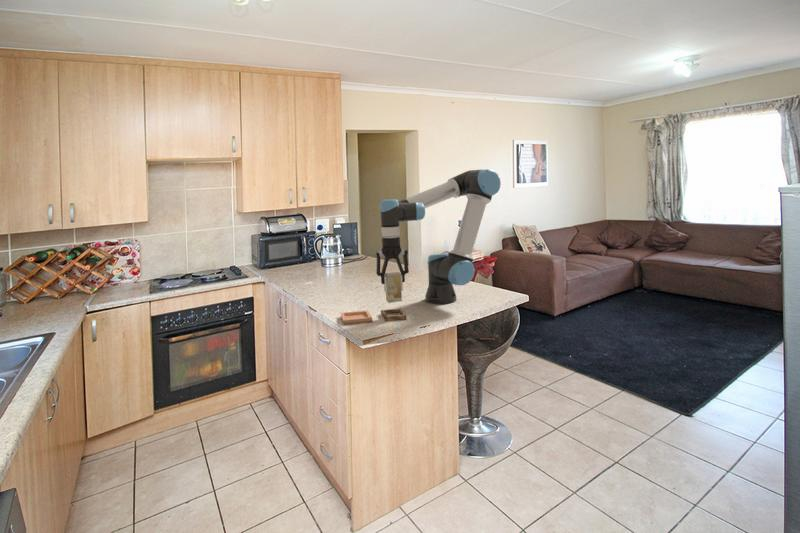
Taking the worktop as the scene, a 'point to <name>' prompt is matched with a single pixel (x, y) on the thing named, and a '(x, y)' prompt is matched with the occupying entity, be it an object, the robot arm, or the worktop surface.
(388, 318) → the pocket frame
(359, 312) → the tray
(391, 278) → the skincare box
